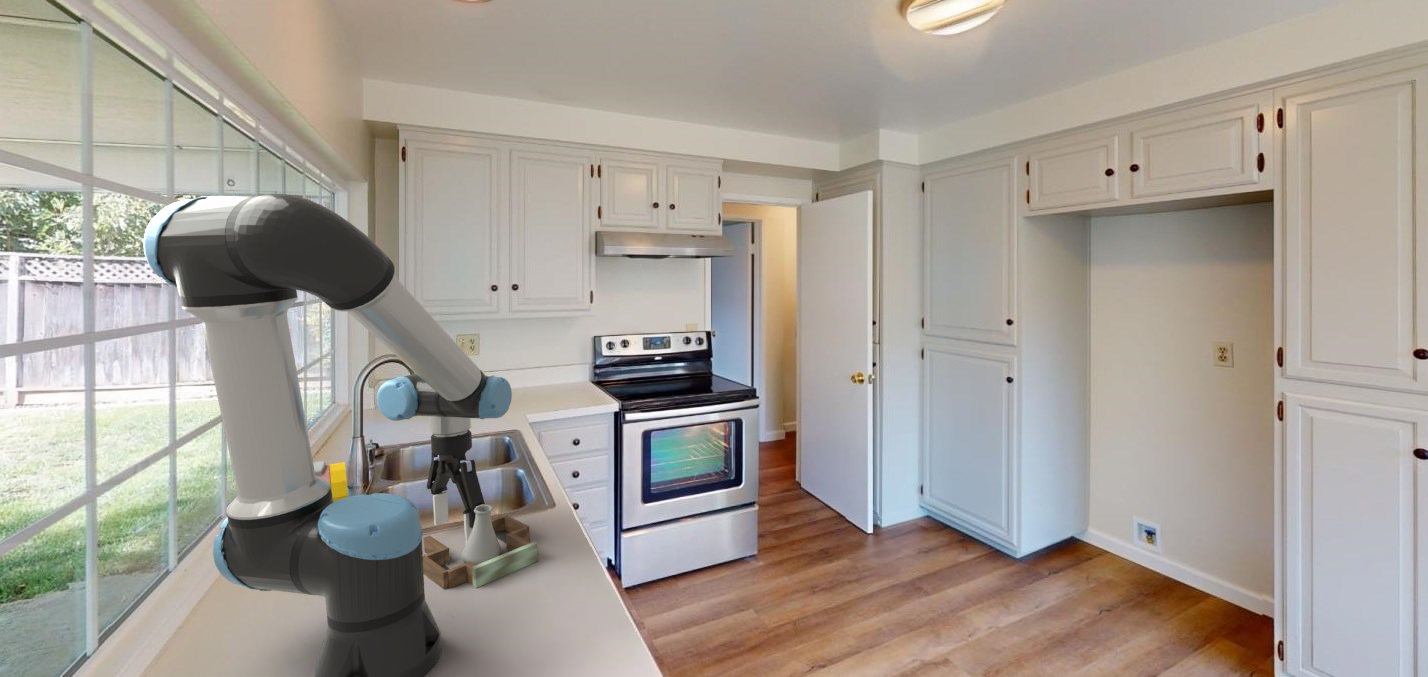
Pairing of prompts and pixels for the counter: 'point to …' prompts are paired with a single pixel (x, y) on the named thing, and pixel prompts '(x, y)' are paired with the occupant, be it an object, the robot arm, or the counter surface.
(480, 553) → the flask
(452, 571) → the box
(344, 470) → the alarm clock
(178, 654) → the counter surface
